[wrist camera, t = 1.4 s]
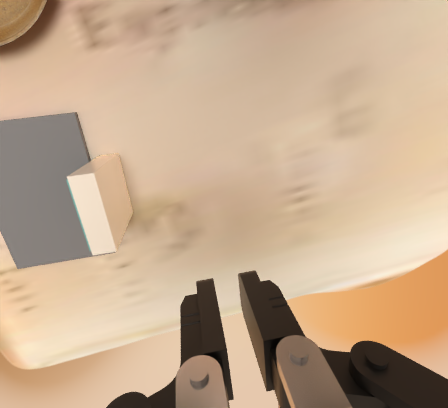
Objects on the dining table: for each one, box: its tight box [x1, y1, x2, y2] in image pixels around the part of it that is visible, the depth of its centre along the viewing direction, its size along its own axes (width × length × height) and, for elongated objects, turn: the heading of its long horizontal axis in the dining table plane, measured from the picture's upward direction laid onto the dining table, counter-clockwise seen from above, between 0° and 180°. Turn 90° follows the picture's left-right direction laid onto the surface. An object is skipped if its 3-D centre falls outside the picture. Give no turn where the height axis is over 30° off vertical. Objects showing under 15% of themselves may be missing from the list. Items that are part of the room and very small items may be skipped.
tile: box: [66, 153, 133, 255], centre depth 26 cm, size 7×2×9 cm, turn 6°
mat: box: [0, 112, 115, 269], centre depth 29 cm, size 16×11×1 cm
